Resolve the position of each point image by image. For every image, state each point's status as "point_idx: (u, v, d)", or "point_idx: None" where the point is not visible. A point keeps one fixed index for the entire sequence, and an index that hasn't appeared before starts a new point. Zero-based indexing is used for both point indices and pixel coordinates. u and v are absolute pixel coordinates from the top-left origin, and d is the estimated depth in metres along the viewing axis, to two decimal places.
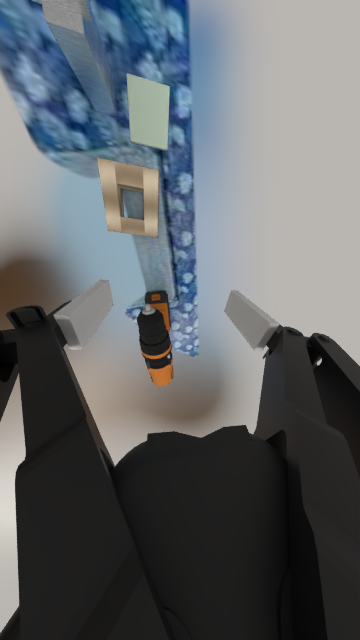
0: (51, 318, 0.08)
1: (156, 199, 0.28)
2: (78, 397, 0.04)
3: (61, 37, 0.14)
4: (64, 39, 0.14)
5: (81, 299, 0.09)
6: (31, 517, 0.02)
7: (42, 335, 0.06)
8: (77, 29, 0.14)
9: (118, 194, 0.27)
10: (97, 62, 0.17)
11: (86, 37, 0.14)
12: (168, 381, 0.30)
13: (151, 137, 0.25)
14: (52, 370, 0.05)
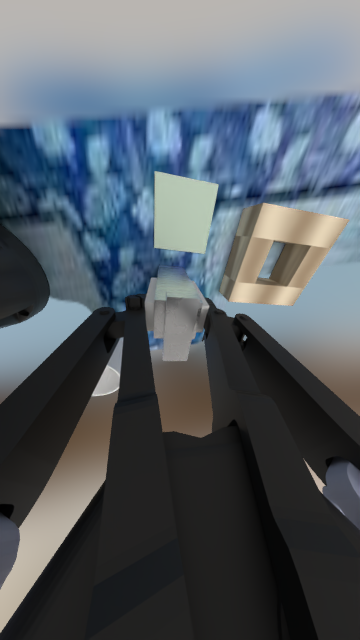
0: None
1: (297, 213, 0.14)
2: (152, 374, 0.05)
3: None
4: None
5: (152, 292, 0.11)
6: (117, 446, 0.03)
7: (139, 318, 0.08)
8: (200, 310, 0.10)
9: (261, 283, 0.19)
10: (189, 286, 0.13)
11: None
12: None
13: (203, 218, 0.16)
14: (140, 346, 0.06)
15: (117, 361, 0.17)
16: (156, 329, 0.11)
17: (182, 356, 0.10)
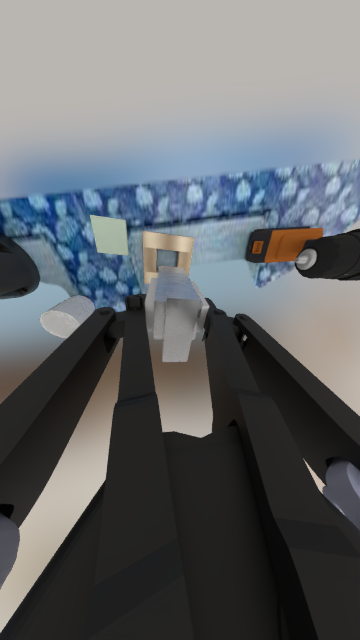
0: None
1: (163, 235, 0.28)
2: (152, 374, 0.05)
3: None
4: None
5: (152, 292, 0.11)
6: (117, 446, 0.03)
7: (139, 318, 0.08)
8: (200, 310, 0.10)
9: None
10: (189, 286, 0.13)
11: None
12: None
13: (121, 236, 0.30)
14: (140, 346, 0.06)
15: (77, 315, 0.31)
16: (156, 330, 0.11)
17: (182, 357, 0.10)
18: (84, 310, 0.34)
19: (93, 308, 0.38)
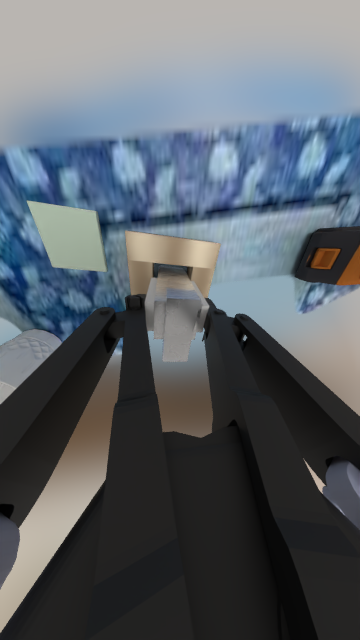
0: None
1: (164, 239, 0.15)
2: (152, 374, 0.05)
3: None
4: None
5: (152, 292, 0.12)
6: (117, 446, 0.03)
7: (139, 318, 0.08)
8: (200, 310, 0.10)
9: None
10: (189, 286, 0.13)
11: None
12: None
13: (92, 240, 0.17)
14: (140, 346, 0.06)
15: (17, 375, 0.18)
16: (156, 330, 0.11)
17: (182, 357, 0.10)
18: (37, 358, 0.21)
19: None
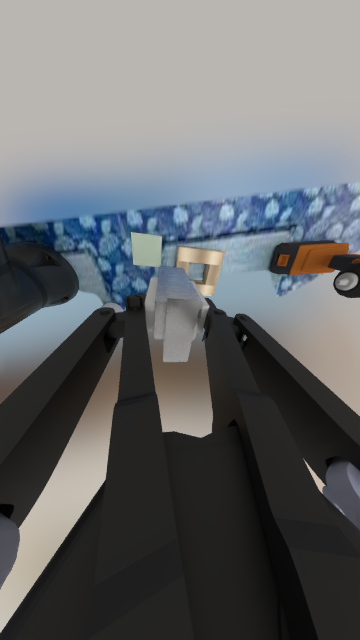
0: None
1: (196, 250, 0.30)
2: (152, 374, 0.05)
3: None
4: None
5: (152, 292, 0.11)
6: (117, 446, 0.03)
7: (139, 318, 0.08)
8: (200, 311, 0.10)
9: None
10: (189, 286, 0.13)
11: None
12: None
13: (156, 250, 0.32)
14: (140, 346, 0.06)
15: None
16: (156, 330, 0.11)
17: (182, 357, 0.10)
18: None
19: None
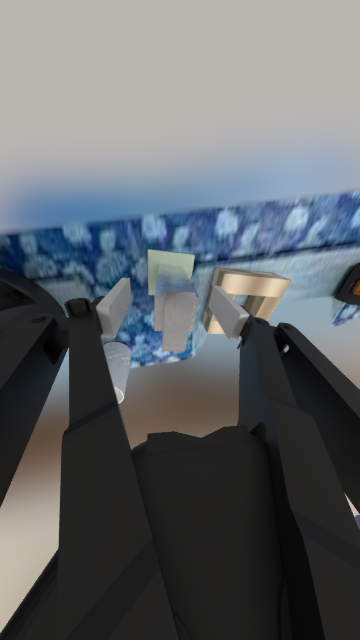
0: None
1: (251, 278, 0.19)
2: (111, 383, 0.05)
3: None
4: None
5: (113, 294, 0.10)
6: (71, 478, 0.03)
7: (87, 324, 0.07)
8: (196, 304, 0.11)
9: None
10: (186, 283, 0.14)
11: None
12: None
13: None
14: (93, 355, 0.05)
15: (120, 381, 0.23)
16: (156, 322, 0.12)
17: (180, 347, 0.11)
18: (125, 367, 0.25)
19: (130, 356, 0.30)
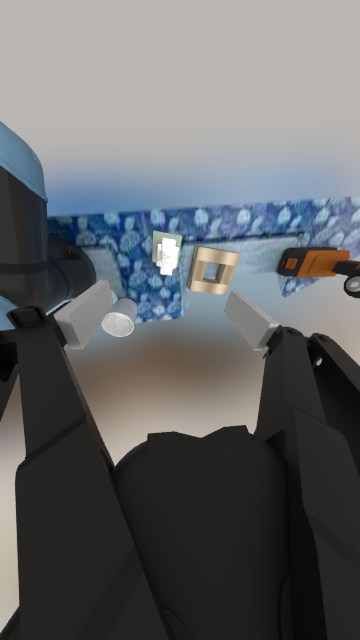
0: (51, 318, 0.08)
1: (215, 251, 0.32)
2: (78, 397, 0.04)
3: None
4: None
5: (81, 299, 0.09)
6: (31, 517, 0.02)
7: (42, 335, 0.06)
8: (177, 251, 0.23)
9: (206, 281, 0.37)
10: None
11: (177, 246, 0.24)
12: None
13: None
14: (52, 370, 0.05)
15: (131, 317, 0.35)
16: (157, 260, 0.24)
17: (169, 272, 0.24)
18: (134, 312, 0.38)
19: None
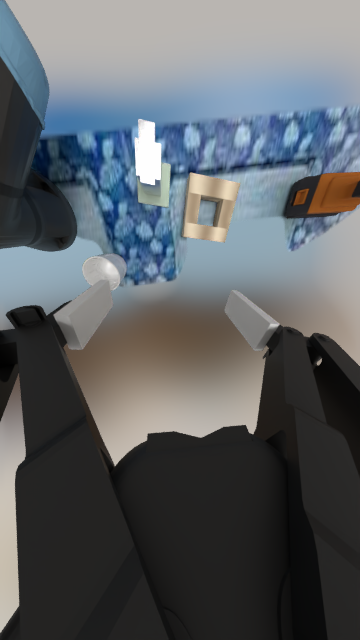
0: (51, 318, 0.08)
1: (210, 179, 0.27)
2: (78, 397, 0.04)
3: (160, 175, 0.21)
4: (160, 173, 0.21)
5: (81, 299, 0.09)
6: (31, 517, 0.02)
7: (42, 335, 0.06)
8: (160, 150, 0.19)
9: (202, 225, 0.32)
10: None
11: (159, 146, 0.19)
12: None
13: (164, 183, 0.29)
14: (52, 370, 0.05)
15: (117, 266, 0.30)
16: (137, 166, 0.19)
17: (151, 179, 0.19)
18: (121, 265, 0.33)
19: (126, 268, 0.38)
